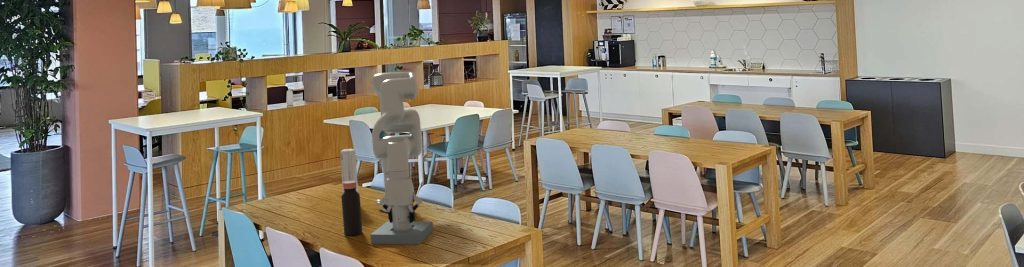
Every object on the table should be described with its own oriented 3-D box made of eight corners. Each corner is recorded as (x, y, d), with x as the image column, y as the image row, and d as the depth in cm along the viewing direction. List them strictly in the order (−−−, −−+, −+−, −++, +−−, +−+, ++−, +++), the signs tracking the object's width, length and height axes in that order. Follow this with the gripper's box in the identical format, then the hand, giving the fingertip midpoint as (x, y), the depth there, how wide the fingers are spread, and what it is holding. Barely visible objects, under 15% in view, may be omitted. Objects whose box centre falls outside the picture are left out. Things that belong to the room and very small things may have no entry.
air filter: (343, 205, 340) (339, 149, 336) (358, 203, 342) (354, 148, 338) (344, 208, 334) (340, 151, 330) (360, 206, 335) (355, 150, 332)
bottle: (340, 234, 292) (336, 182, 289) (354, 230, 297) (350, 179, 294) (352, 237, 288) (348, 184, 285) (366, 232, 293) (362, 181, 290)
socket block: (371, 243, 278) (370, 234, 277) (387, 230, 295) (387, 221, 295) (419, 244, 274) (418, 234, 274) (433, 230, 292) (432, 221, 291)
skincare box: (397, 234, 281) (395, 201, 279) (392, 231, 285) (390, 199, 283) (412, 231, 284) (410, 199, 282) (407, 228, 288) (405, 197, 286)
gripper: (372, 176, 279) (376, 224, 282) (418, 176, 276) (421, 224, 279) (379, 172, 287) (383, 219, 289) (424, 172, 283) (427, 219, 286)
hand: (401, 221), depth 284 cm, fingers closed on skincare box, 7 cm apart
